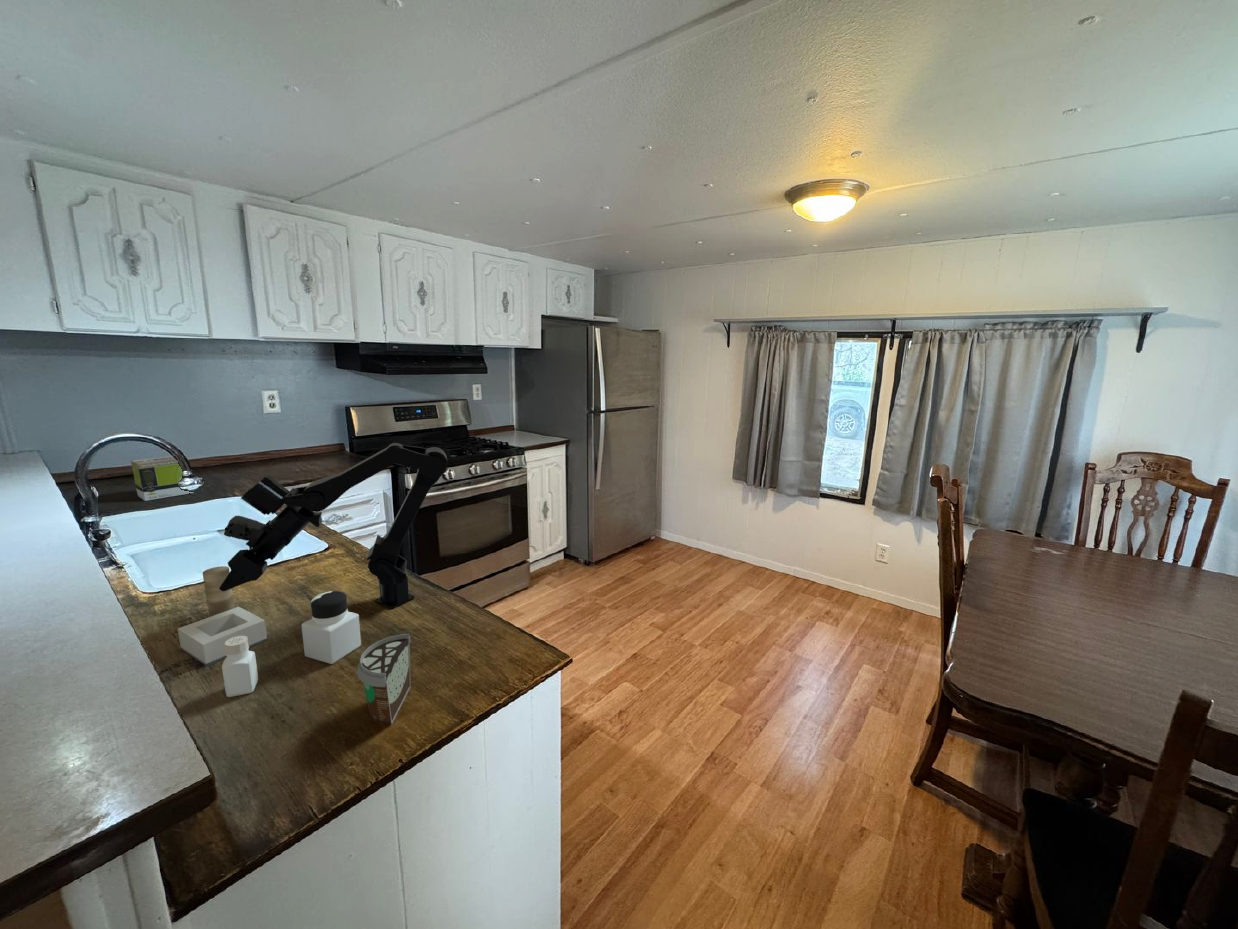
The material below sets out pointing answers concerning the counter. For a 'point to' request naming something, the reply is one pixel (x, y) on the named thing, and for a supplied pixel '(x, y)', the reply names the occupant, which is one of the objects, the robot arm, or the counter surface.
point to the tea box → (157, 478)
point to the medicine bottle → (330, 628)
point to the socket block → (220, 634)
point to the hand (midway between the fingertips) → (229, 580)
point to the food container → (386, 676)
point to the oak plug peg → (217, 590)
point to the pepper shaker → (239, 667)
